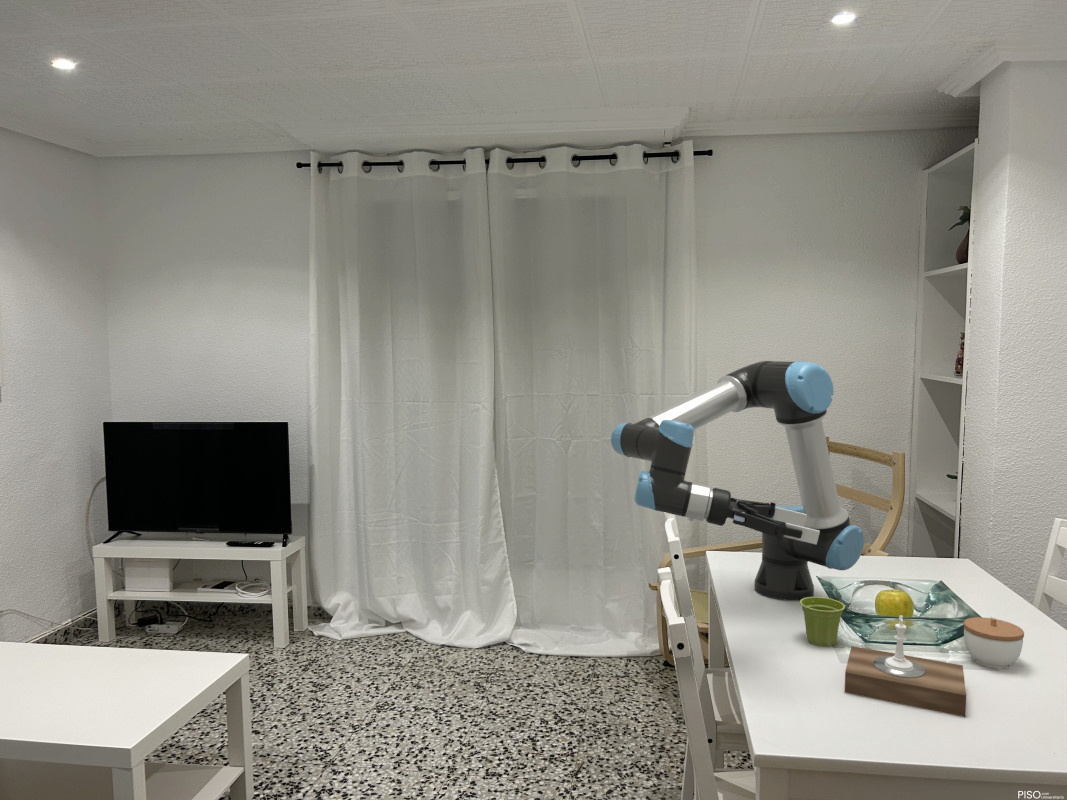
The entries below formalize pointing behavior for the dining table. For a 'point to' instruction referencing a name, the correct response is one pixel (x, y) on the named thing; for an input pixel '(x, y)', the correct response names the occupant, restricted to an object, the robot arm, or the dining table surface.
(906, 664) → the chess piece
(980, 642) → the lidded jar
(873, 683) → the walnut base
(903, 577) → the dining table surface
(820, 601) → the plant pot
